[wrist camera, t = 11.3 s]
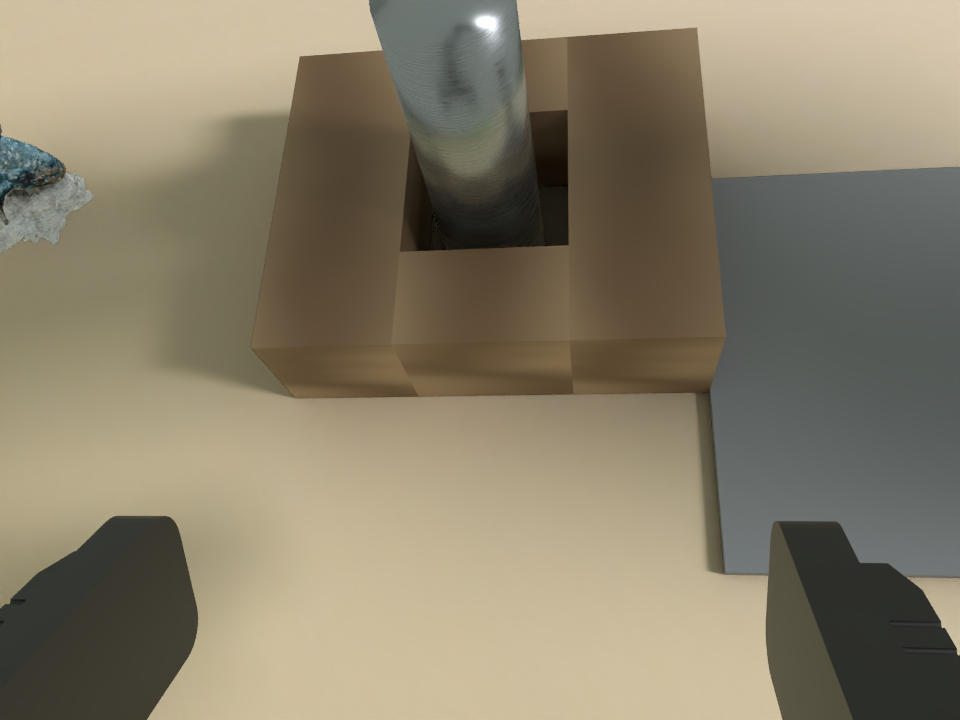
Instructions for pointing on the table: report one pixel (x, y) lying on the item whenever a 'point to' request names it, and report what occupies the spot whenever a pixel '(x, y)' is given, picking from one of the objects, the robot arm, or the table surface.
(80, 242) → the table surface
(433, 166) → the peg
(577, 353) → the hole block
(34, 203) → the sculpture
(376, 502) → the table surface
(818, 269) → the mat
